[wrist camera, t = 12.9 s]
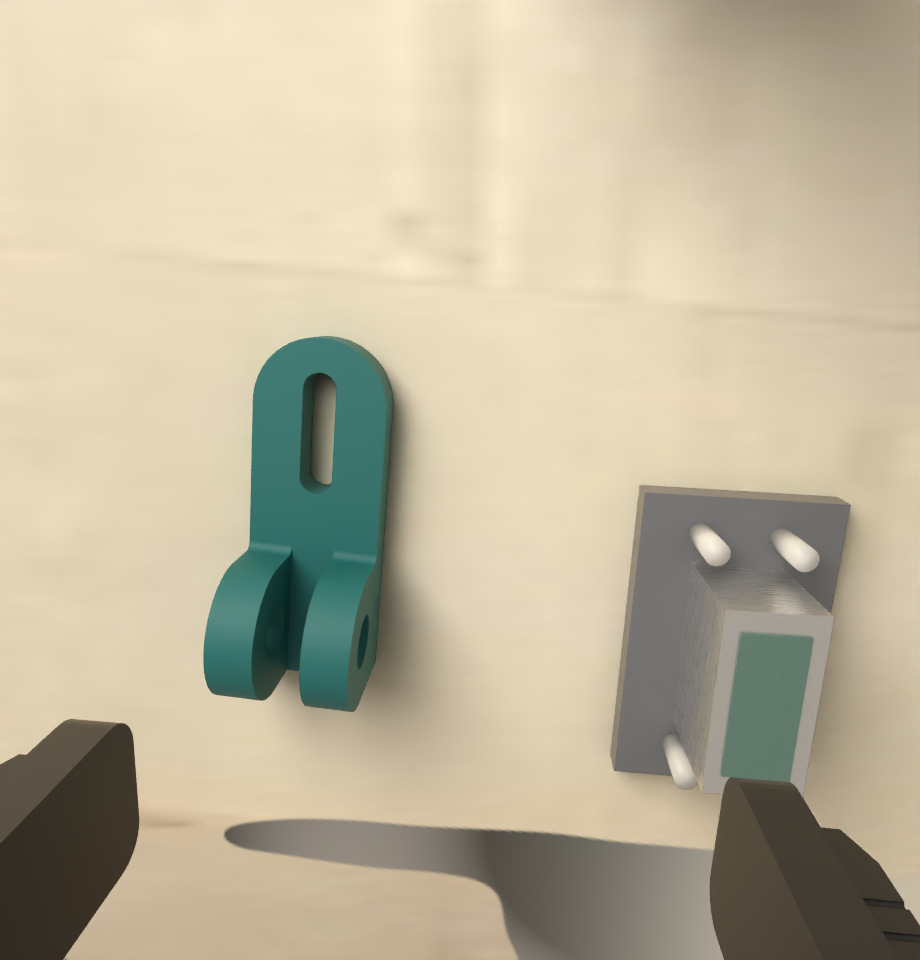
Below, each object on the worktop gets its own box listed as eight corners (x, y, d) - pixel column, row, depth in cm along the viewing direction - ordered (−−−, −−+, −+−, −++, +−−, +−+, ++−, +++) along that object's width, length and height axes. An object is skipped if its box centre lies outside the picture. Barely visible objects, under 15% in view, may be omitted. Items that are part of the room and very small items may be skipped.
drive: (691, 561, 36) (727, 611, 30) (781, 567, 36) (835, 618, 30) (672, 718, 38) (702, 794, 32) (757, 724, 38) (803, 802, 32)
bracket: (376, 659, 40) (344, 740, 33) (261, 645, 41) (203, 722, 33) (398, 342, 36) (367, 350, 28) (270, 330, 36) (205, 334, 29)
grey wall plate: (639, 485, 37) (656, 508, 32) (836, 497, 36) (881, 522, 32) (610, 754, 40) (621, 807, 36) (788, 769, 40) (822, 825, 35)
